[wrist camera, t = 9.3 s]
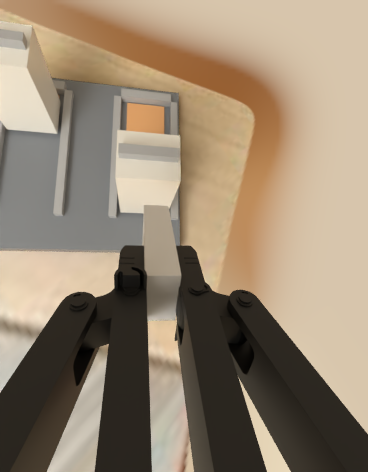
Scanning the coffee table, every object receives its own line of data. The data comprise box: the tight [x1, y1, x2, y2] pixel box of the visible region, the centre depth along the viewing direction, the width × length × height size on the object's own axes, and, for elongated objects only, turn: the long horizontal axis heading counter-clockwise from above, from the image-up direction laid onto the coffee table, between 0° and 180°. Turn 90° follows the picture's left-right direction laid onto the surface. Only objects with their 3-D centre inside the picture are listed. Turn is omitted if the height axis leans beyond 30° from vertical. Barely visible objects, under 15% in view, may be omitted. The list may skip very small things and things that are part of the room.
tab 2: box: [115, 130, 181, 213], centre depth 25 cm, size 4×5×10 cm
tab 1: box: [0, 21, 60, 134], centre depth 25 cm, size 4×5×10 cm
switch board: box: [0, 78, 180, 252], centre depth 31 cm, size 20×20×2 cm
